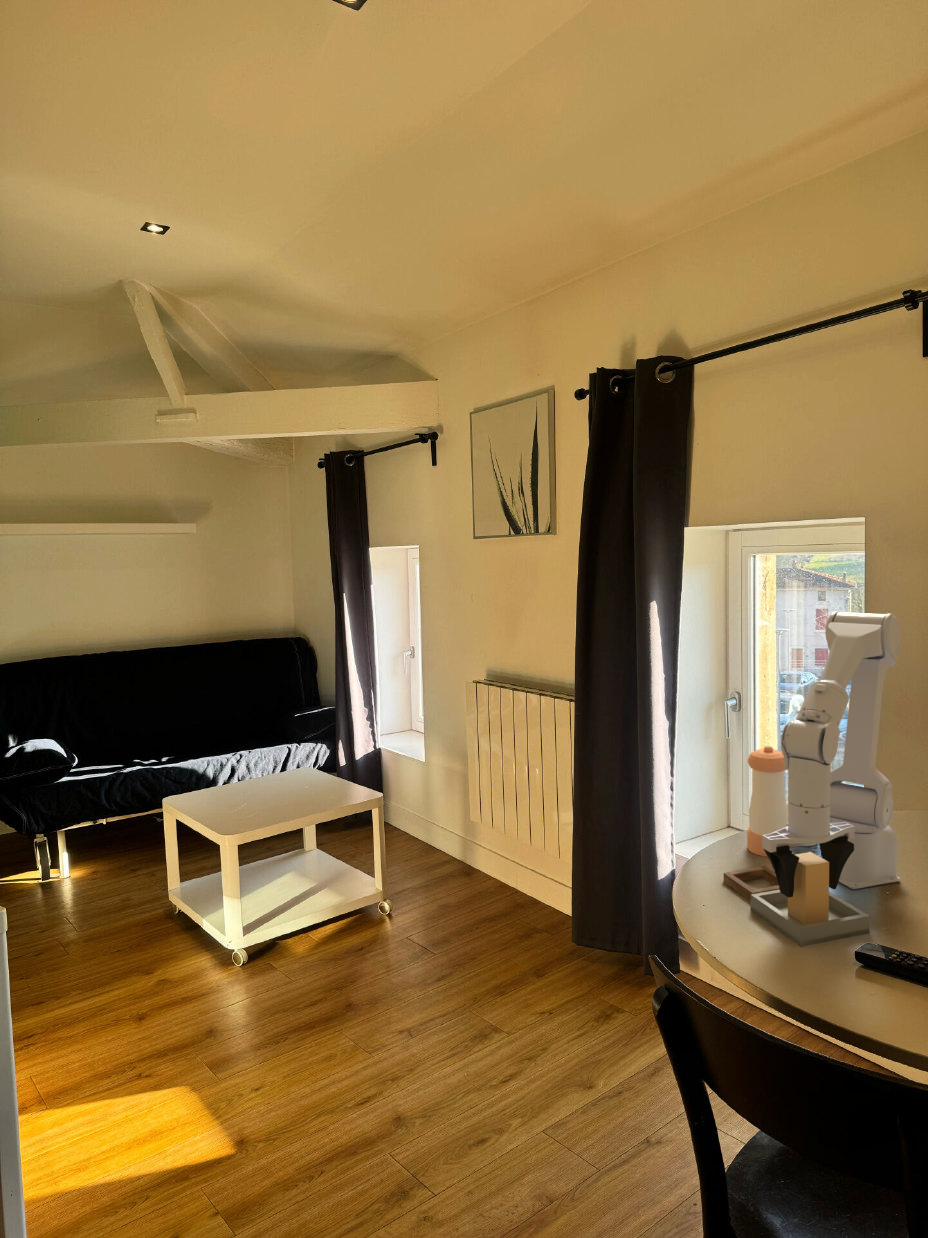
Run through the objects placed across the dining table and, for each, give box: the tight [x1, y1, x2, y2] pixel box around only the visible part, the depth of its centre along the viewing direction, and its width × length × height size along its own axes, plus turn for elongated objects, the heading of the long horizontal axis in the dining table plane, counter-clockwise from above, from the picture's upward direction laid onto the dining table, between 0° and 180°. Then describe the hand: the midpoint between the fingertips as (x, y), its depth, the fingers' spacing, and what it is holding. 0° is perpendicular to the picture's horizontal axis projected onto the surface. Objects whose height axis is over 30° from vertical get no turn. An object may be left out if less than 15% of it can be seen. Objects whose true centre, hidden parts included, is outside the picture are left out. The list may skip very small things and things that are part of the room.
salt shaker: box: [746, 745, 788, 858], centre depth 148 cm, size 7×7×19 cm
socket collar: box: [723, 865, 780, 902], centre depth 134 cm, size 8×8×2 cm
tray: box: [750, 890, 871, 947], centre depth 122 cm, size 12×12×2 cm
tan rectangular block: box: [788, 851, 830, 925], centre depth 122 cm, size 4×4×9 cm
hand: (808, 890), depth 122 cm, fingers open, 7 cm apart
